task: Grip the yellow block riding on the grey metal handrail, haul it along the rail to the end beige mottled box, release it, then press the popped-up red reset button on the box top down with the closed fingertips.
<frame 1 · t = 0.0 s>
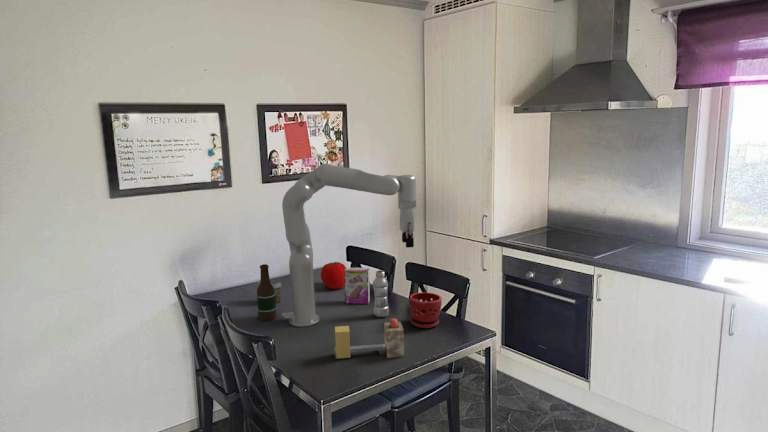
hand: (407, 244, 214), 31 cm above the table, fingers open, 9 cm apart
food container: (267, 303, 238), on the table
yellow block: (342, 342, 180), point 5 cm above the table, slide at 0.0 cm
plastic bottle: (381, 316, 219), on the table
rail: (361, 354, 182), on the table
plant pot: (425, 324, 209), on the table
beer bottle: (267, 319, 219), on the table
candy bar box: (357, 303, 236), on the table
reset button: (393, 325, 182), point 10 cm above the table, slide at 0.0 cm
beige mottled box: (394, 352, 183), on the table
tomato: (335, 287, 260), on the table
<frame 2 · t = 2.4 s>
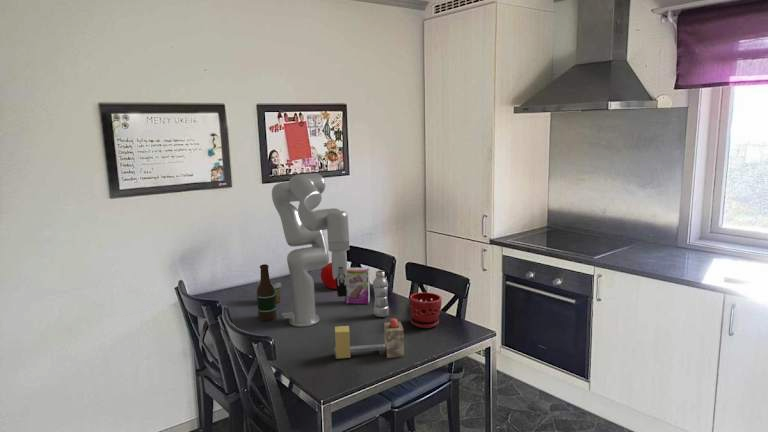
hand: (341, 292, 182), 22 cm above the table, fingers open, 9 cm apart
nothing on the table moved.
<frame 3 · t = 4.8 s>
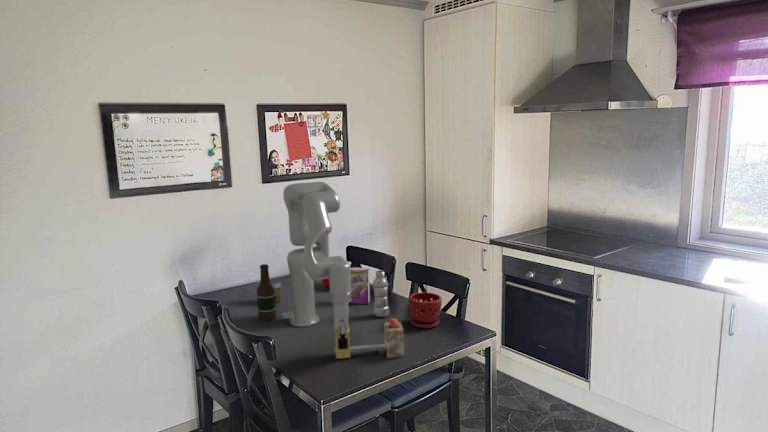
hand: (342, 344, 181), 4 cm above the table, fingers closed on yellow block, 5 cm apart
yellow block: (342, 342, 180), point 5 cm above the table, slide at 0.0 cm, touching gripper
everything else where it was.
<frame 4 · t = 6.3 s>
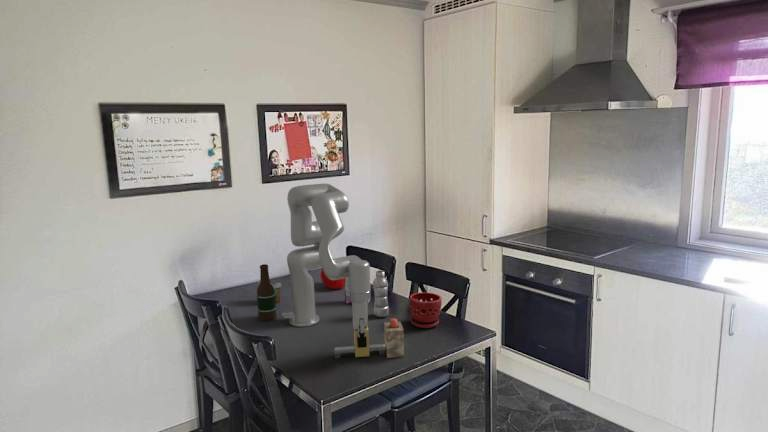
hand: (361, 343, 181), 4 cm above the table, fingers closed on yellow block, 5 cm apart
yellow block: (361, 340, 181), point 5 cm above the table, slide at 6.8 cm, touching gripper
everything else where it was.
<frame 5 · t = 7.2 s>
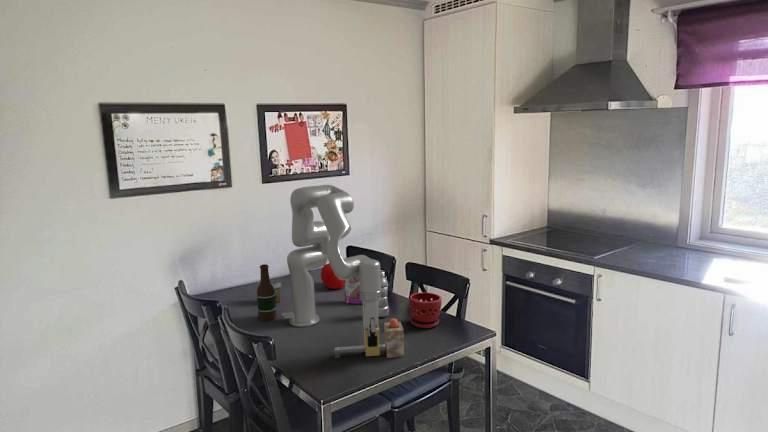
hand: (371, 342, 182), 4 cm above the table, fingers closed on yellow block, 5 cm apart
yellow block: (371, 339, 182), point 5 cm above the table, slide at 10.5 cm, touching gripper
everything else where it was.
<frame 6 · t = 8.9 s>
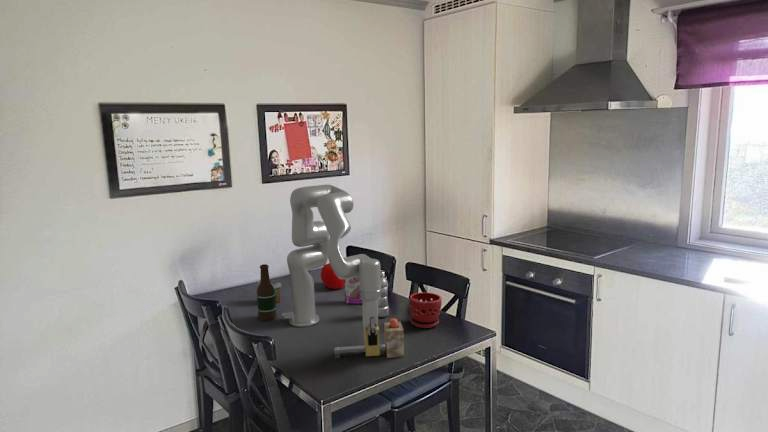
hand: (371, 339, 182), 6 cm above the table, fingers open, 9 cm apart
yellow block: (371, 339, 182), point 5 cm above the table, slide at 10.5 cm
everything else where it was.
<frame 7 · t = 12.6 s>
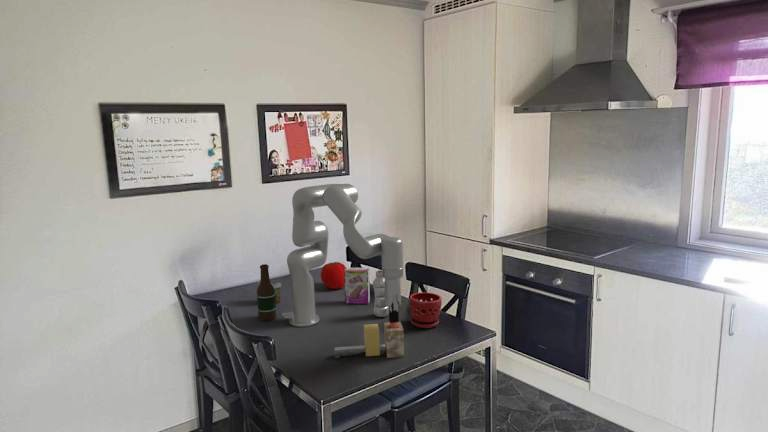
hand: (393, 321, 181), 12 cm above the table, fingers closed
reset button: (393, 327, 182), point 10 cm above the table, slide at 0.7 cm, touching gripper
everything else where it was.
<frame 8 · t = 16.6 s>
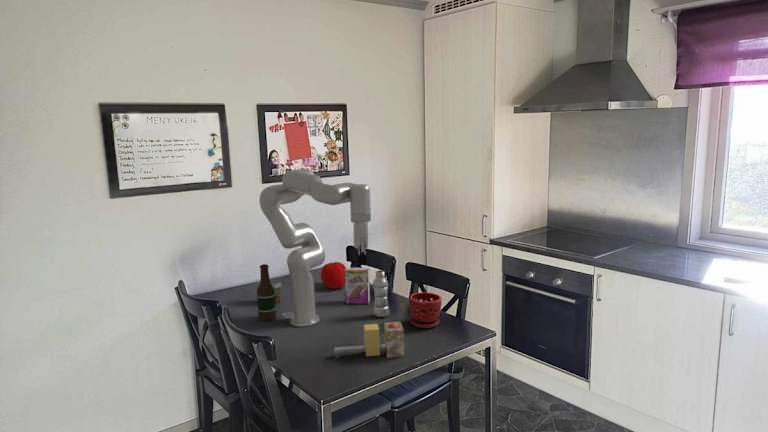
hand: (362, 264, 193), 29 cm above the table, fingers closed
reset button: (393, 330, 182), point 9 cm above the table, slide at 1.8 cm
everything else where it was.
at the end: yellow block slide at 10.5 cm; reset button slide at 1.8 cm; the gripper is holding nothing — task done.
